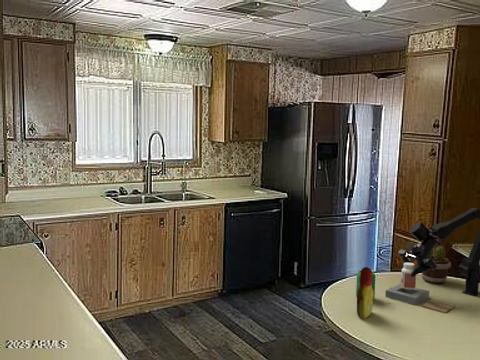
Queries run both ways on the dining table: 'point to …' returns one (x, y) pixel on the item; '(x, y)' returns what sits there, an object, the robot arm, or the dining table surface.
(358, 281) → the beverage can
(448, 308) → the pad
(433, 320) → the dining table surface
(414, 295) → the holder
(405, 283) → the pill bottle
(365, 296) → the bottle
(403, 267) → the robot arm
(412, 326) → the dining table surface
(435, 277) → the flowerpot
